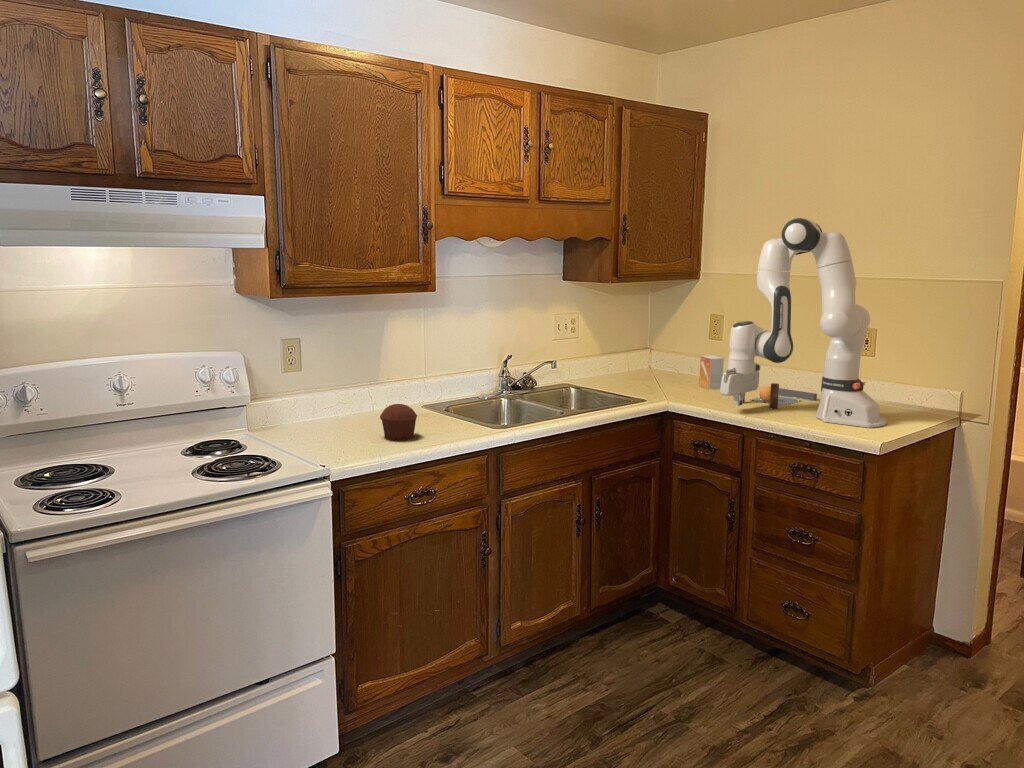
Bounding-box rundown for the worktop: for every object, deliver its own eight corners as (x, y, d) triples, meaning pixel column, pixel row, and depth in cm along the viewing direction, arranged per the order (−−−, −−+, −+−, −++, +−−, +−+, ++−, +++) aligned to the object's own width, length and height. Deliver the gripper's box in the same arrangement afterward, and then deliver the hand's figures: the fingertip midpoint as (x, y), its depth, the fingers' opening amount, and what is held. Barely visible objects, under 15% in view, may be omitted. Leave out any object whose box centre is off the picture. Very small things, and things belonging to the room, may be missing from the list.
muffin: (423, 439, 235) (423, 406, 233) (388, 443, 229) (388, 410, 227) (408, 431, 245) (407, 399, 243) (374, 435, 239) (374, 403, 237)
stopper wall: (816, 400, 299) (817, 393, 299) (814, 400, 298) (814, 394, 297) (768, 392, 313) (769, 386, 313) (766, 393, 312) (766, 387, 312)
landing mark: (801, 400, 297) (801, 400, 297) (783, 405, 288) (783, 405, 288) (768, 395, 307) (768, 395, 307) (749, 400, 298) (749, 399, 298)
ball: (772, 403, 291) (779, 400, 295) (771, 388, 290) (778, 385, 294) (757, 403, 295) (764, 399, 299) (756, 387, 294) (763, 384, 298)
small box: (698, 386, 327) (700, 355, 324) (712, 385, 329) (713, 355, 326) (709, 389, 319) (710, 358, 317) (722, 389, 321) (724, 357, 319)
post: (778, 408, 283) (780, 384, 282) (775, 409, 281) (776, 384, 280) (771, 407, 285) (773, 383, 284) (767, 408, 283) (769, 383, 282)
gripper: (732, 371, 267) (730, 410, 270) (763, 365, 281) (760, 402, 284) (716, 369, 272) (714, 407, 274) (747, 363, 286) (745, 400, 288)
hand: (738, 405), depth 279 cm, fingers closed
